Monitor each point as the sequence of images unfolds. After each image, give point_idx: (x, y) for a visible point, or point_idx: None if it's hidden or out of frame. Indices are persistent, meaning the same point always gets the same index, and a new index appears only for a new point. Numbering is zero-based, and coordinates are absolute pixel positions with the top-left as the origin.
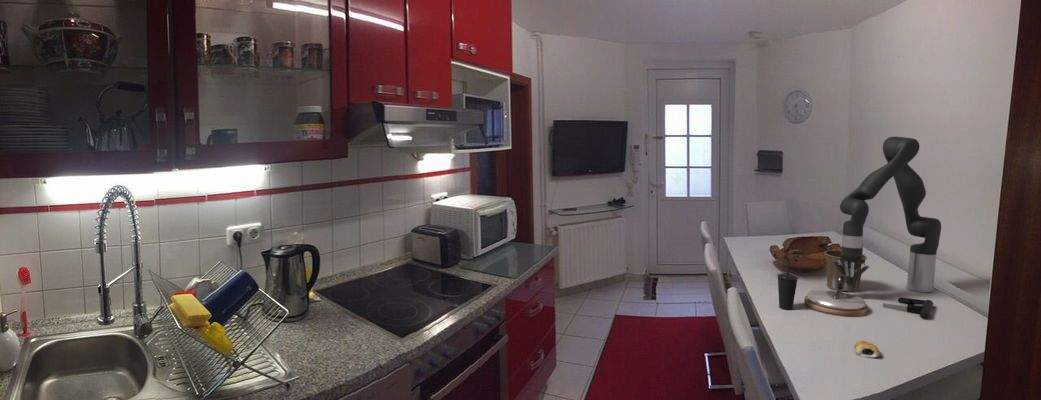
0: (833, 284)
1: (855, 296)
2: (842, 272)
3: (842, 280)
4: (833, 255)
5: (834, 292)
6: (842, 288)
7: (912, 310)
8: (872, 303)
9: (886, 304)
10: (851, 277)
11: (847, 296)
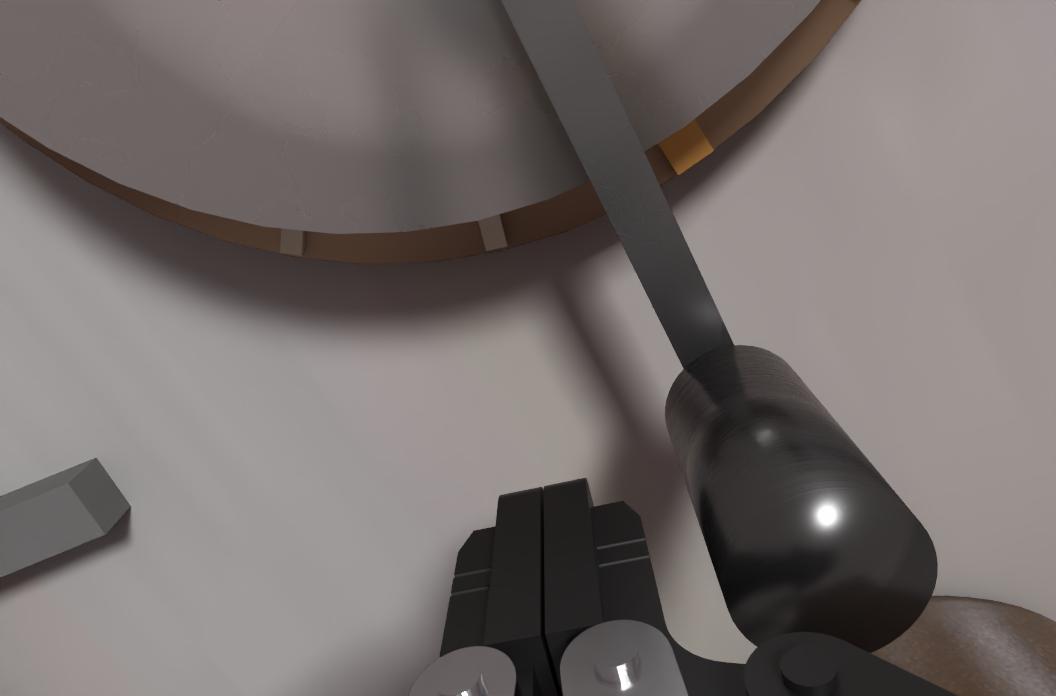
0: (1004, 653)
1: (227, 183)
2: (811, 676)
3: (715, 491)
4: None
5: (633, 18)
6: (668, 400)
7: None
8: (272, 493)
9: (33, 507)
10: (490, 654)
11: (289, 5)
